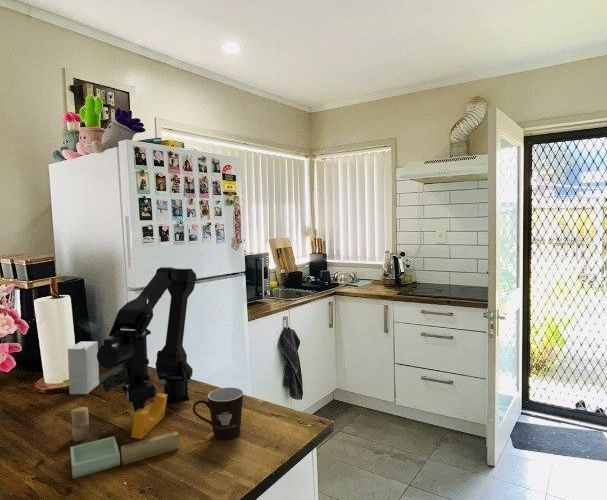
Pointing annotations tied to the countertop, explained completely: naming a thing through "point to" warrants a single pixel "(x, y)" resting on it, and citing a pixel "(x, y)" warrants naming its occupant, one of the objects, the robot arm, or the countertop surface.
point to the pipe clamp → (149, 416)
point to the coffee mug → (224, 412)
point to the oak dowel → (80, 424)
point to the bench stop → (149, 447)
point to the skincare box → (83, 367)
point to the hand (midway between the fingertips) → (137, 415)
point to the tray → (94, 456)
